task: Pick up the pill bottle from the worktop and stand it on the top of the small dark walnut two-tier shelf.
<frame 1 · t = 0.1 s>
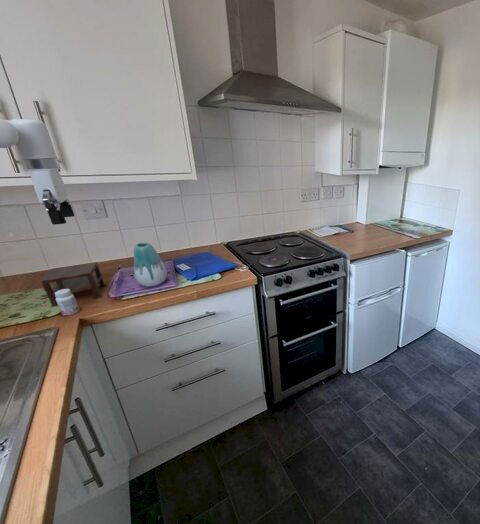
hand: (64, 220, 96), 33 cm above the worktop, tool pointing down, fingers open, 9 cm apart
vase: (154, 283, 128), on the worktop
pill bottle: (71, 312, 107), on the worktop
shelf: (80, 295, 118), on the worktop
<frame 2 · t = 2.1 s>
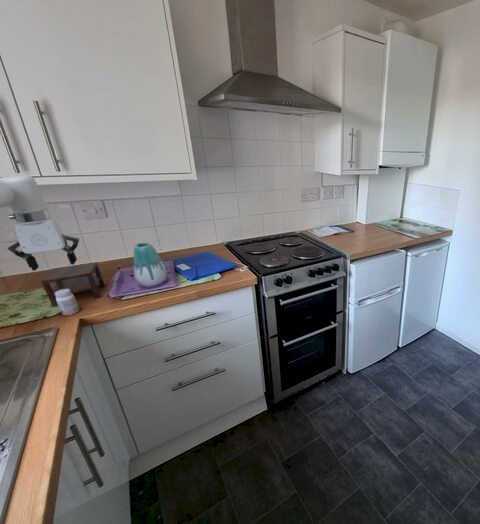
hand: (55, 266, 100), 18 cm above the worktop, tool pointing down, fingers open, 9 cm apart
nothing on the worktop moved.
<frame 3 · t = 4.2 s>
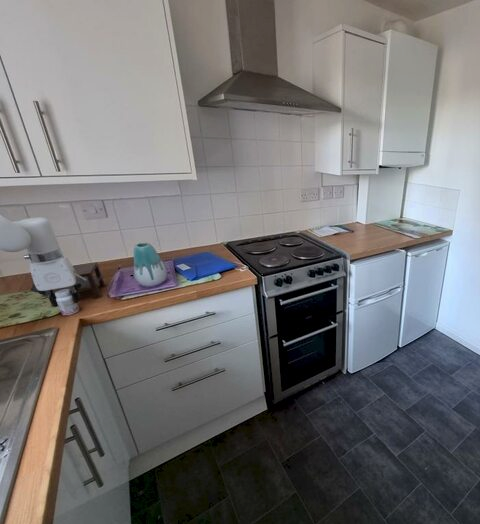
hand: (67, 302, 106), 4 cm above the worktop, tool pointing down, fingers closed on pill bottle, 4 cm apart
pill bottle: (71, 312, 107), on the worktop, touching gripper
everything else where it was.
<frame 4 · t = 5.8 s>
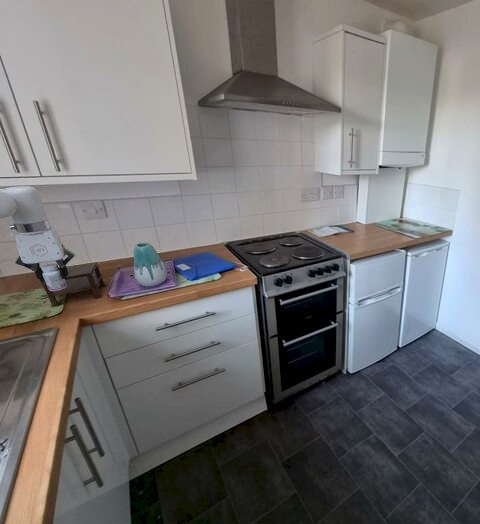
hand: (54, 278, 101), 14 cm above the worktop, tool pointing down, fingers closed on pill bottle, 4 cm apart
pill bottle: (58, 288, 103), point 10 cm above the worktop, touching gripper
everything else where it was.
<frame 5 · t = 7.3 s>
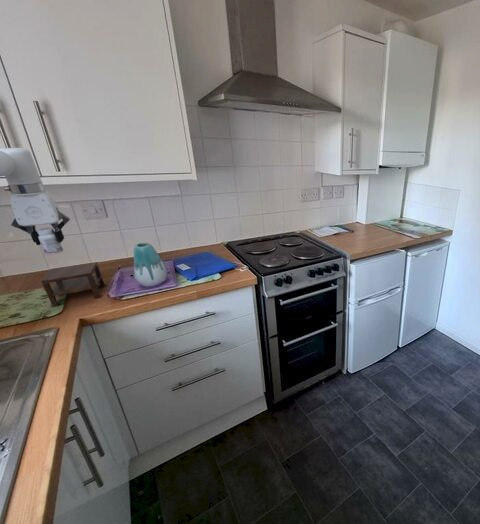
hand: (50, 242, 103), 24 cm above the worktop, tool pointing down, fingers closed on pill bottle, 4 cm apart
pill bottle: (54, 252, 104), point 20 cm above the worktop, touching gripper
everything else where it was.
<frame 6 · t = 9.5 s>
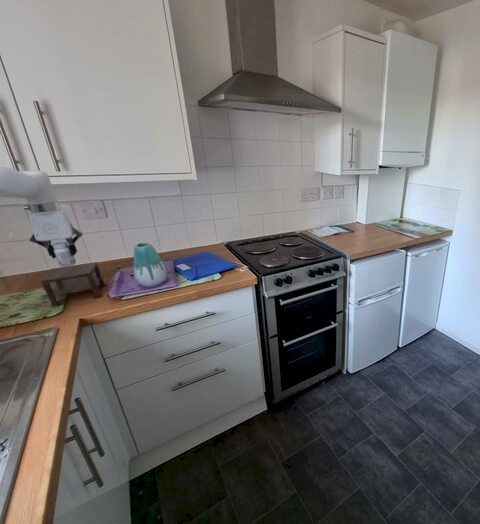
hand: (64, 255, 112), 17 cm above the worktop, tool pointing down, fingers closed on pill bottle, 4 cm apart
pill bottle: (68, 264, 113), point 13 cm above the worktop, touching gripper
everything else where it was.
when the fingers open (14 cm above the worktop, at t = 10.7 s): pill bottle stays where it is, resting on shelf.
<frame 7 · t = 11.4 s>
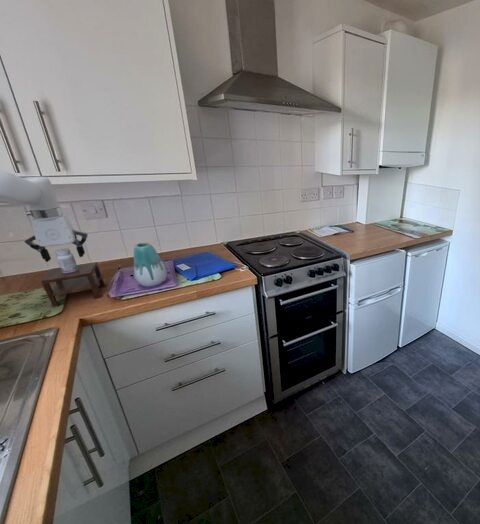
hand: (65, 258, 112), 16 cm above the worktop, tool pointing down, fingers open, 9 cm apart
pill bottle: (70, 271, 114), point 10 cm above the worktop, touching shelf
everything else where it was.
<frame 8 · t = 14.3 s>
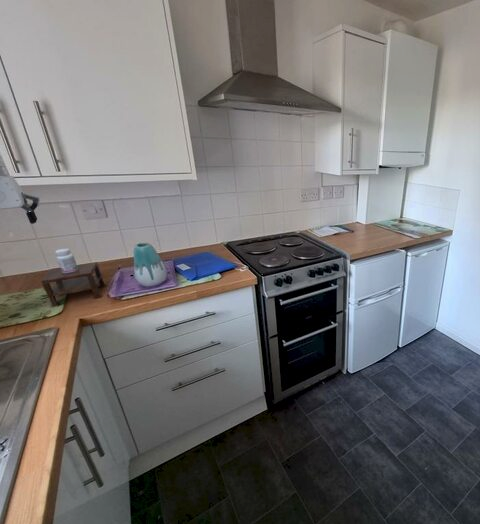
hand: (14, 224, 102), 30 cm above the worktop, tool pointing down, fingers open, 9 cm apart
nothing on the worktop moved.
at the end: pill bottle inside the target area on the shelf (0.1 cm from its centre), point 10.4 cm above the shelf's base; pill bottle tilted 0°; the gripper is holding nothing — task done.
